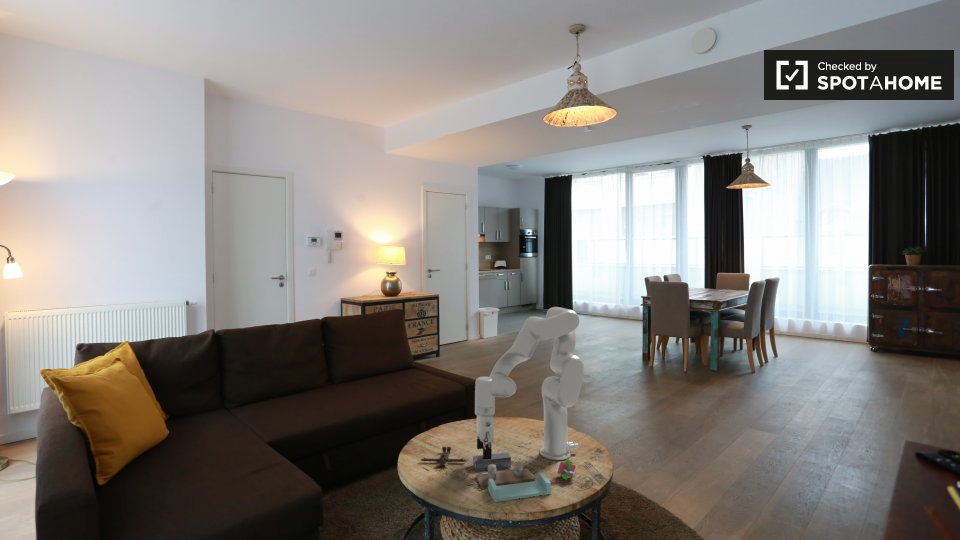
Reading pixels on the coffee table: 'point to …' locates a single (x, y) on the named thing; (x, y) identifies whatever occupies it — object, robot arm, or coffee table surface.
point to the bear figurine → (444, 458)
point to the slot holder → (520, 489)
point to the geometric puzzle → (566, 469)
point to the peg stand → (506, 476)
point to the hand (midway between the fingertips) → (484, 453)
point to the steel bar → (492, 461)
